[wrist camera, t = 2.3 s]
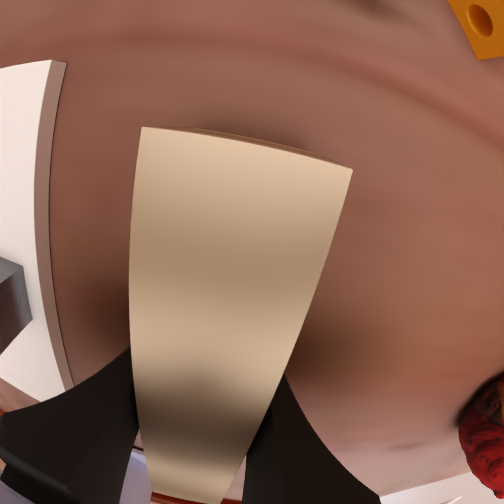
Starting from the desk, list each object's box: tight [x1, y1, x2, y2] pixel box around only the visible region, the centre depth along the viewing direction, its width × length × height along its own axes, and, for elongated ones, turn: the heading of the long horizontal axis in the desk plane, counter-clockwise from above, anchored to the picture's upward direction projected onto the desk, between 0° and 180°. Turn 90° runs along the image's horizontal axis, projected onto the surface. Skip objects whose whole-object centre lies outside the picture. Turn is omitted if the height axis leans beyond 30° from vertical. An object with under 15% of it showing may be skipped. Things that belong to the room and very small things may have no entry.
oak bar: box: [129, 127, 353, 504], centre depth 10 cm, size 16×4×5 cm, turn 168°
